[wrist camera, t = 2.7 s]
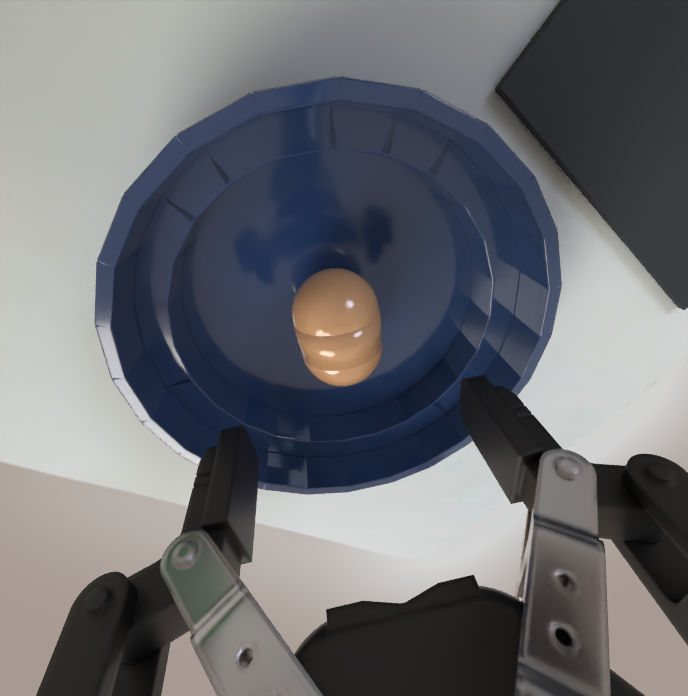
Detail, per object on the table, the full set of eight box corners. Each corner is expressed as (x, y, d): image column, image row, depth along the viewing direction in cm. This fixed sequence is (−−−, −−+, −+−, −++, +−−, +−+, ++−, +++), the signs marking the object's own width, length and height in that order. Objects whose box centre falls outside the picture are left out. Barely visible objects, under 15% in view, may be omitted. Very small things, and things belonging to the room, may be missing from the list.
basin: (50, 139, 14) (-47, 146, 10) (524, 52, 15) (617, 24, 11) (221, 458, 25) (208, 523, 21) (488, 400, 26) (527, 452, 22)
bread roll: (282, 264, 18) (280, 300, 14) (365, 248, 18) (384, 279, 15) (308, 362, 22) (312, 411, 18) (377, 348, 22) (395, 394, 18)
